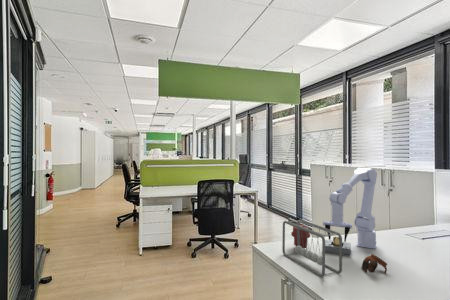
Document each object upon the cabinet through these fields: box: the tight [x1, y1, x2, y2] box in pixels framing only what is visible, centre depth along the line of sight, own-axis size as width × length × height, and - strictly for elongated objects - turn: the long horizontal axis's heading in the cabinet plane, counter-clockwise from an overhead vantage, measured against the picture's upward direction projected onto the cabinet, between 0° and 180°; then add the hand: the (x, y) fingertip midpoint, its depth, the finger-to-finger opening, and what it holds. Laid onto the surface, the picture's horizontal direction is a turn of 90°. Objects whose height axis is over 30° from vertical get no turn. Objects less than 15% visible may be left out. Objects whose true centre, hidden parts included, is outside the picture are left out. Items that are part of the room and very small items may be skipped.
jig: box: [325, 239, 352, 257], centre depth 150 cm, size 13×11×4 cm
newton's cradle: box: [281, 218, 343, 278], centre depth 132 cm, size 30×10×18 cm, turn 23°
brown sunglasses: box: [360, 253, 388, 274], centre depth 123 cm, size 12×10×8 cm
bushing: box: [332, 236, 339, 246], centre depth 150 cm, size 4×4×7 cm
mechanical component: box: [290, 224, 311, 249], centre depth 154 cm, size 12×10×10 cm
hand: (337, 240), depth 150 cm, fingers open, 7 cm apart
